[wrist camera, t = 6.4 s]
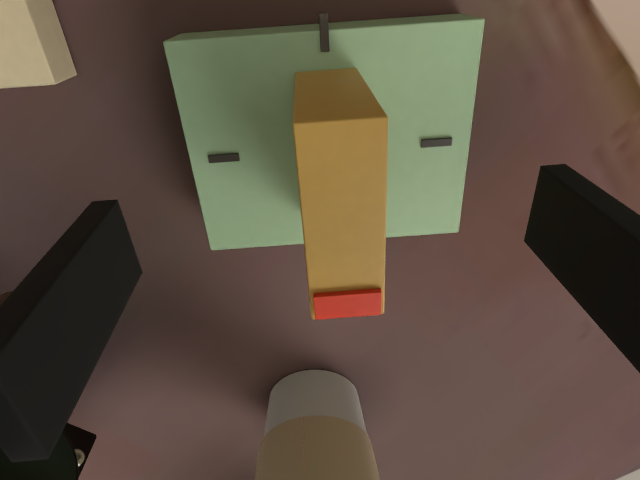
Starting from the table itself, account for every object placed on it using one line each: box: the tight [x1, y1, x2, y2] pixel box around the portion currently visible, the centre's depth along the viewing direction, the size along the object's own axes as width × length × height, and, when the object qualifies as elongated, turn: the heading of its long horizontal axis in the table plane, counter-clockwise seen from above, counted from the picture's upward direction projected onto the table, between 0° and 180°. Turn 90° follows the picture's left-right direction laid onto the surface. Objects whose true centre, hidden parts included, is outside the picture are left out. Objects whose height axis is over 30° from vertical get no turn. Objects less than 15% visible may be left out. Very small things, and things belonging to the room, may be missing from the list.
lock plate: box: [163, 13, 485, 250], centre depth 21 cm, size 13×11×3 cm
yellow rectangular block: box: [293, 68, 388, 320], centre depth 16 cm, size 7×3×8 cm, turn 4°
